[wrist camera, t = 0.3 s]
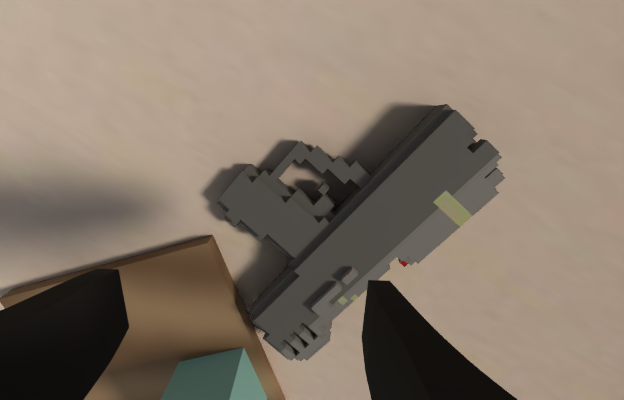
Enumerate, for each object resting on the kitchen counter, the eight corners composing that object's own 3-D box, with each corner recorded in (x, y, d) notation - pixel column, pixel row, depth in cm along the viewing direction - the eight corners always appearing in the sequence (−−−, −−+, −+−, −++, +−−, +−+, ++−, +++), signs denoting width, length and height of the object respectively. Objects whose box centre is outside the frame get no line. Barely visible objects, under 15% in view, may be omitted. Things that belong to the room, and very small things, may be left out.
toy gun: (161, 264, 18) (295, 378, 19) (365, 18, 14) (528, 177, 15) (192, 240, 22) (304, 338, 22) (363, 38, 17) (494, 166, 18)
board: (285, 399, 24) (279, 457, 21) (116, 434, 26) (82, 494, 22) (212, 235, 20) (188, 271, 16) (12, 289, 21) (-53, 334, 18)
